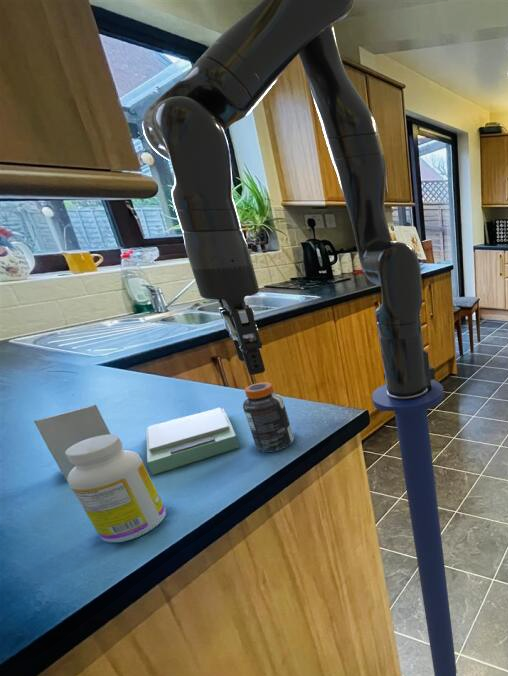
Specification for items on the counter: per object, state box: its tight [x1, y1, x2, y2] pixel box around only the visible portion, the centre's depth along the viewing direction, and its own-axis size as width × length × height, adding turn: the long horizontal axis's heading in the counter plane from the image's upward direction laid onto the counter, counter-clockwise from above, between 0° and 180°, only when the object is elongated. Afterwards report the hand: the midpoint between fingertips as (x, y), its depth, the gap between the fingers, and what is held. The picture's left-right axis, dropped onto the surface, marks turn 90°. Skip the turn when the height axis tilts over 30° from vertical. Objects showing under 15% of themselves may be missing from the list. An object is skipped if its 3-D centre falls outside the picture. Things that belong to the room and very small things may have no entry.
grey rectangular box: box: [33, 404, 112, 482], centre depth 64 cm, size 4×7×10 cm, turn 141°
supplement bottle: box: [65, 434, 167, 543], centre depth 50 cm, size 7×7×13 cm
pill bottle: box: [242, 381, 295, 453], centre depth 69 cm, size 6×6×11 cm
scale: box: [145, 406, 241, 476], centre depth 71 cm, size 12×14×3 cm
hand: (251, 366), depth 65 cm, fingers open, 8 cm apart
